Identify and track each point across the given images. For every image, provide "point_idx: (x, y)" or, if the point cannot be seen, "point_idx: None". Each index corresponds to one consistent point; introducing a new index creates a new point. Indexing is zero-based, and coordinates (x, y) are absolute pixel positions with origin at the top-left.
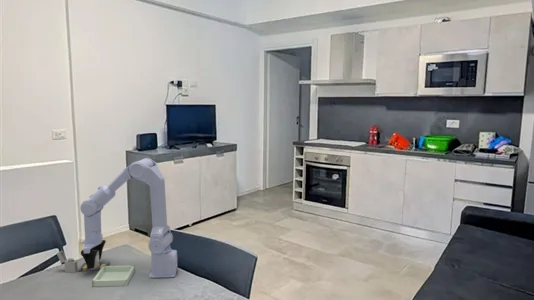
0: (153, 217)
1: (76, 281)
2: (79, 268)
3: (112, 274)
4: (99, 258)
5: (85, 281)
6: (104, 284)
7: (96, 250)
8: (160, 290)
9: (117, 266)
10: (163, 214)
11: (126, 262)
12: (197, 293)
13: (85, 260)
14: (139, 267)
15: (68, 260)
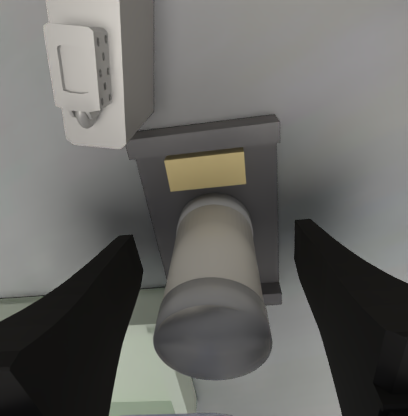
0: None
1: (7, 187)
2: (150, 139)
3: (135, 344)
4: (297, 263)
5: (30, 240)
6: None
7: (256, 354)
8: None
9: (169, 386)
10: None
11: (313, 349)
12: None
13: (62, 289)
14: (245, 403)
15: (55, 41)
